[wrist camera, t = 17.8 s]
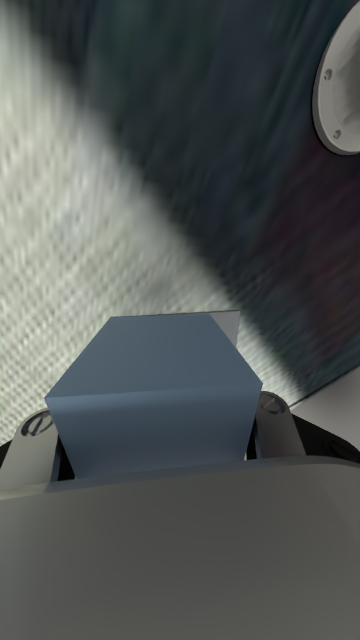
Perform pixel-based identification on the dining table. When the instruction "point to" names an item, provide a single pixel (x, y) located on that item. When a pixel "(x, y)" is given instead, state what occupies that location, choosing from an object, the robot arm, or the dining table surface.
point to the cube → (155, 397)
